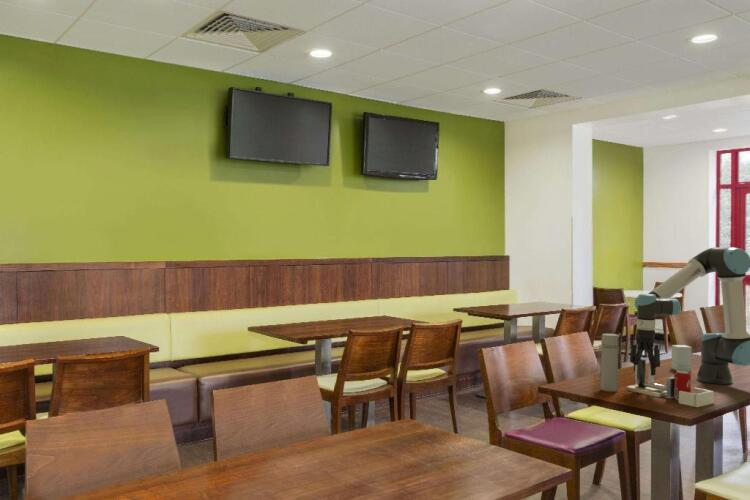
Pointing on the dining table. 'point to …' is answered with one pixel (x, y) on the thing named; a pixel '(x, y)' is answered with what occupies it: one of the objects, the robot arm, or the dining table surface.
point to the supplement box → (681, 357)
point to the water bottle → (609, 362)
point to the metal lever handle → (642, 383)
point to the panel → (647, 391)
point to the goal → (696, 397)
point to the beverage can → (681, 383)
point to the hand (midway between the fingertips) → (644, 380)
